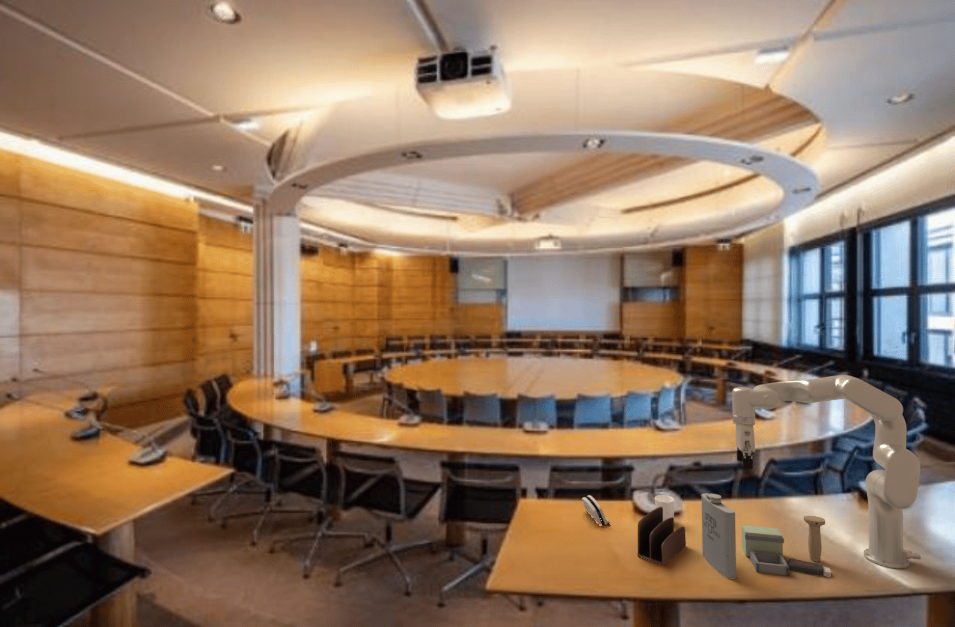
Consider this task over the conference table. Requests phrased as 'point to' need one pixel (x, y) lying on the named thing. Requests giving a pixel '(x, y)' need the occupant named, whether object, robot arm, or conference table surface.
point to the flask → (718, 535)
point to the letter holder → (659, 537)
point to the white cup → (665, 505)
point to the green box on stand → (764, 549)
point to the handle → (814, 536)
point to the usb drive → (808, 567)
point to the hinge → (594, 509)
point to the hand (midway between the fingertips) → (744, 464)
